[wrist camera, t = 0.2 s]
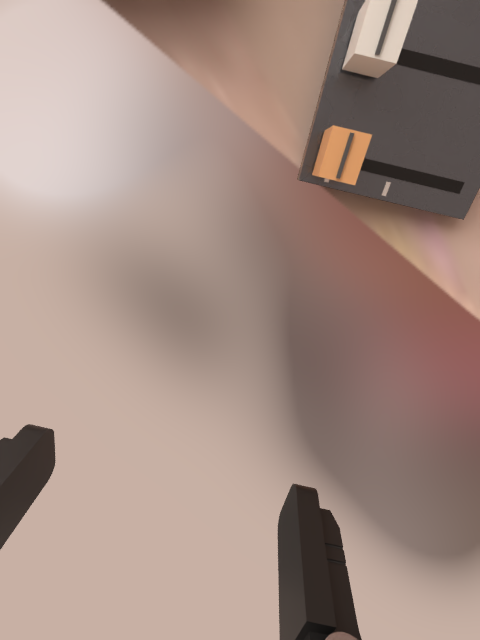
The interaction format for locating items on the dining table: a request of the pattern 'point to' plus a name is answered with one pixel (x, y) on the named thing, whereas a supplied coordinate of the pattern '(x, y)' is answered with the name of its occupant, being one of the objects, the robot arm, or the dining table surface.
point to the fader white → (378, 36)
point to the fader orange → (341, 154)
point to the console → (410, 111)
